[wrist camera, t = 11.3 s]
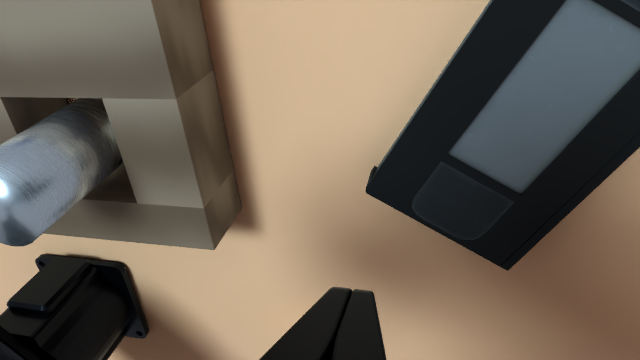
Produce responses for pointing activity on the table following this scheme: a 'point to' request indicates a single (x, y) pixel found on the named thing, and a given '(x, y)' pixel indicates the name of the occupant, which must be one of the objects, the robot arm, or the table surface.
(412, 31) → the table surface
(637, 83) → the vhs tape
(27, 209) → the steel peg
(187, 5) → the hitch block
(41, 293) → the robot arm
